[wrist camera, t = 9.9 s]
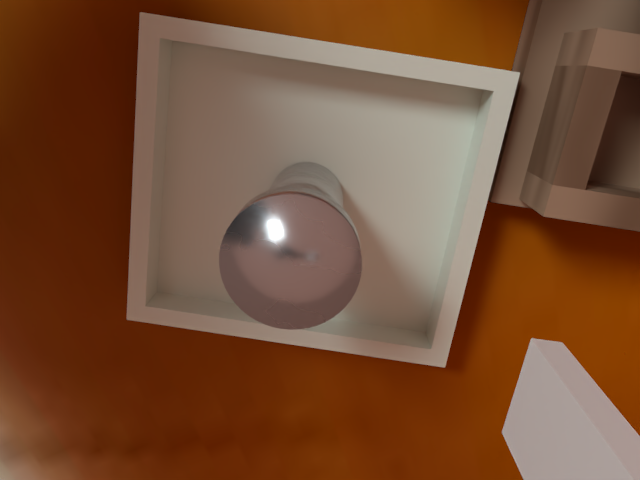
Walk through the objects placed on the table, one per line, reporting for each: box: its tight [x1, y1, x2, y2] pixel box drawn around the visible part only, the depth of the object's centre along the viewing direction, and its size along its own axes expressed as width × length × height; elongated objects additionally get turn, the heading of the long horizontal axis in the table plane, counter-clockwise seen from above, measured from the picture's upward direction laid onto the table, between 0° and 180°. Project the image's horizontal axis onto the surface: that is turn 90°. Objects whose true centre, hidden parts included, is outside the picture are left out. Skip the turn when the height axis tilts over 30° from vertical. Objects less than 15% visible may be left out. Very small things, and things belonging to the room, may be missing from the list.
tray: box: [126, 12, 520, 368], centre depth 29 cm, size 18×16×3 cm
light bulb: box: [219, 162, 362, 330], centre depth 24 cm, size 5×5×10 cm
